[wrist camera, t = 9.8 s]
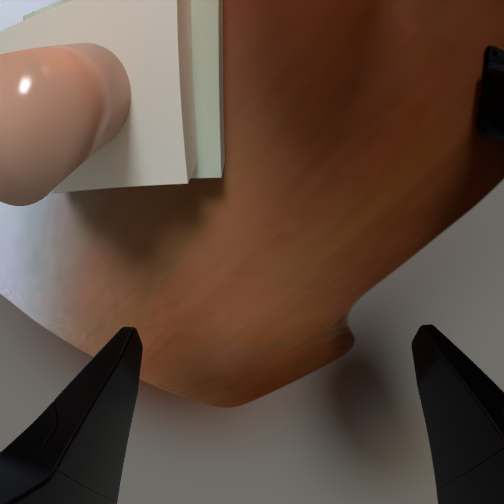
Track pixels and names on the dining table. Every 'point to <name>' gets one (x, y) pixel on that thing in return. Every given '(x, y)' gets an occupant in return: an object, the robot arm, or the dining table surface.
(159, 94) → the cream slab
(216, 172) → the sage slab
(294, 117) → the dining table surface
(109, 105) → the pale pink cylinder
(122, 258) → the dining table surface
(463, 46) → the dining table surface
